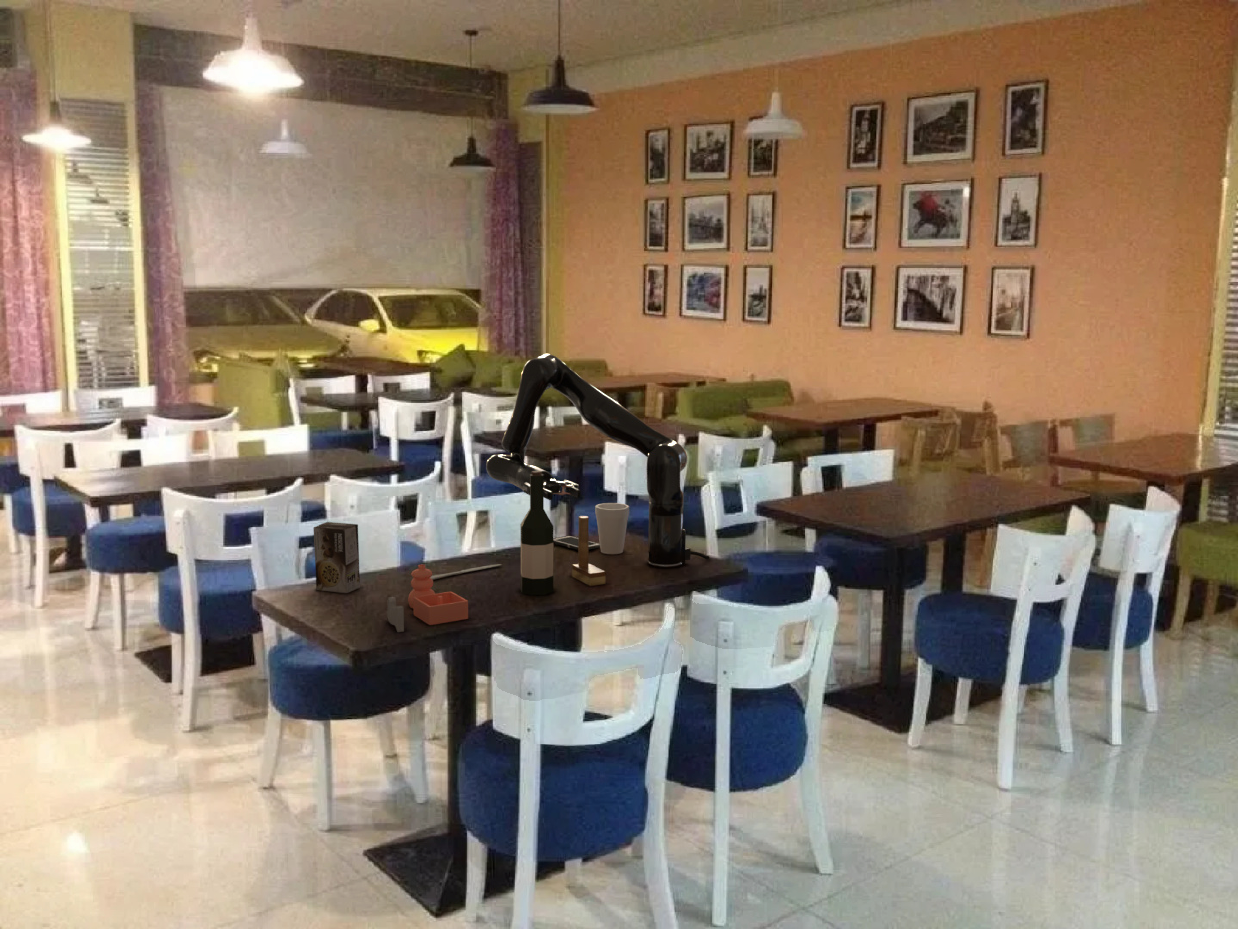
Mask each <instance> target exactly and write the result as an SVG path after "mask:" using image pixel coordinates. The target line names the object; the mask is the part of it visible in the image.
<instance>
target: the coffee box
mask: <svg viewBox="0 0 1238 929" xmlns="http://www.w3.org/2000/svg"><path fill="white" fill-rule="evenodd" d="M312 530H313V544H314V545H313V546H314V565H315V590H316V591H322V592H331V593H340V594H341V593H342V594H349V593H351V592H353V591H355V590H357V589H360V588H361V581H360V580H361V579H360V578H361V576H360V574H361V573H360V546H359V545H360V544H359V524H358V523H344V522H334V521H333V522H332V521H326V522H323V523H321V524H318V525H316V526H314V527H313V529H312Z"/></svg>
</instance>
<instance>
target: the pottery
mask: <svg viewBox="0 0 1238 929" xmlns="http://www.w3.org/2000/svg"><path fill="white" fill-rule="evenodd" d="M417 567H418V568H416V569H414V570H412V572H411V573H410V574H411V575H410V576H411V577H412V579H411V581H410V586H411V588H412V590H411V591H410V593H409V595H408V598H407V601H408V604H409V608H411V609H413V616H414V617H415V618H417V619H419V620H421V621H422V622H424V623H425V624H427V625H428V626H433V625H439V624H444V623H452V622H456V621H457V622H458V621H462V620H468V619H469V600H468V599H465V598H464V597H462V596H460V595H459V594H457V593H456V592H453V591H444V592H439V593H436V592H435V591H434V590H433V589H432V588H433V586H434V580H432V579H431V578H430V577H431V576H433V571H432V570H431V569H428V568H426V564H417Z"/></svg>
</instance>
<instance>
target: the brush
mask: <svg viewBox="0 0 1238 929" xmlns="http://www.w3.org/2000/svg"><path fill="white" fill-rule="evenodd" d="M577 520H578V521H577V522H578V524H577V526H578V527H577V528H578V532H577V534H578V535H577V536H578V537H577V538H578V550H577V551H578V552H577V556H578V558H577V559H578V560H577V563H575V564H571V576H572V578H574V579H576V580H578V581H580V582H582V583H584V584H586V585H588V587H589V586H590V587H593V586H601V585H605V584H606V571H605V570H603V569H601V568H599V567H596V566H595V565H593V564H591V563H589V550H588V541H590V540H589V530H590V527H589V524H590V522H589V521H590V519H589V516H587V515H580V516H578V519H577Z"/></svg>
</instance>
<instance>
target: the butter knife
mask: <svg viewBox="0 0 1238 929" xmlns="http://www.w3.org/2000/svg"><path fill="white" fill-rule="evenodd" d="M500 566H501V564H490V565H484V566H477V567H472V568H466V569H462V570H458V571H452V572H447V573H442V574H441V573H440V574H435V575H433V574H432V576H431V577H430V578H431V579H432V580H433V581H435V580H438V579H442V578H447V577H451V576H457V575H461V574H464V573H469V572H475V571H479V570H480V571H481V570H486V569H490V568H495V567H500Z"/></svg>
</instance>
